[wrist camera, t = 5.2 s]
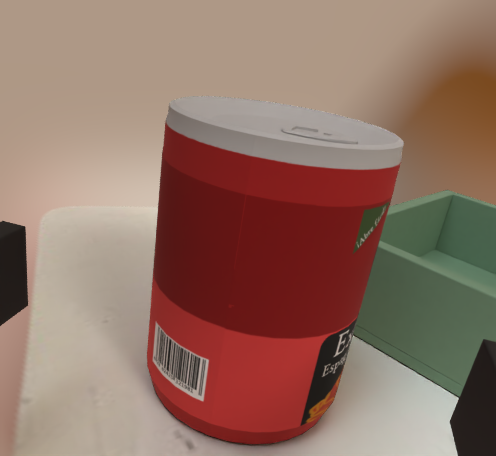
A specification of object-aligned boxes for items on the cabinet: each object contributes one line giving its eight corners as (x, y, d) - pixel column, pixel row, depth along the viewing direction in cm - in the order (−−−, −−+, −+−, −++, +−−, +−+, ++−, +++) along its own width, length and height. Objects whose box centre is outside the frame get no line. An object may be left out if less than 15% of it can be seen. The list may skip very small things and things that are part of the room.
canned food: (348, 465, 16) (443, 162, 12) (121, 436, 16) (141, 115, 12) (321, 337, 23) (375, 117, 19) (163, 315, 23) (184, 88, 19)
